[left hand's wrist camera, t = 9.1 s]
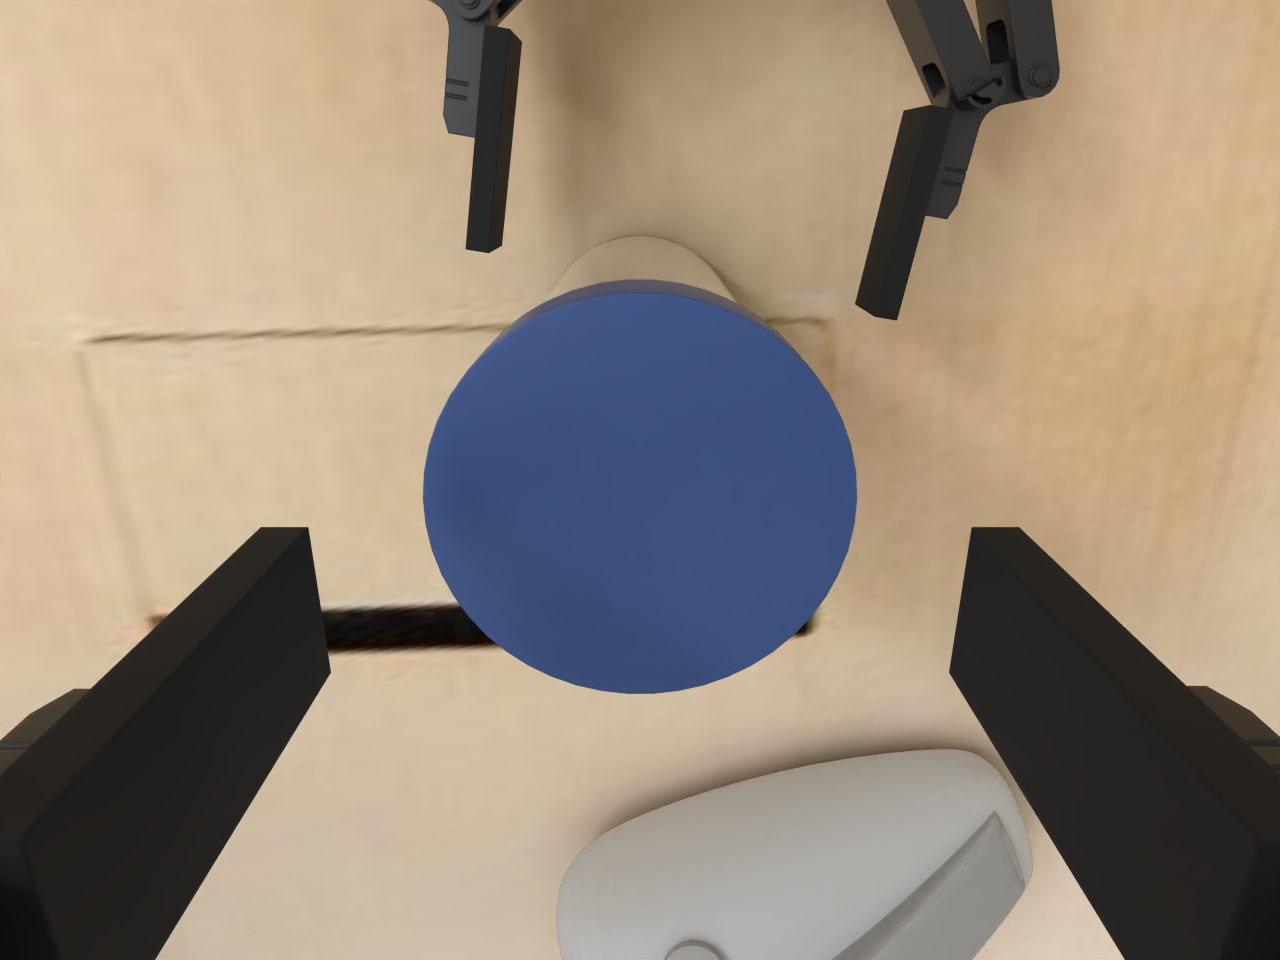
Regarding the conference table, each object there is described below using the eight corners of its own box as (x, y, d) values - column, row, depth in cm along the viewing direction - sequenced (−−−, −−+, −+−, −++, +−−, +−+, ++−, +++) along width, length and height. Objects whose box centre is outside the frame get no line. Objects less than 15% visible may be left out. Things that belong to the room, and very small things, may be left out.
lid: (560, 698, 21) (552, 749, 19) (367, 391, 18) (337, 417, 16) (892, 557, 20) (918, 599, 18) (739, 202, 17) (752, 206, 15)
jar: (598, 457, 37) (561, 718, 19) (508, 291, 34) (372, 420, 17) (766, 378, 36) (888, 581, 18) (686, 199, 33) (737, 236, 16)
